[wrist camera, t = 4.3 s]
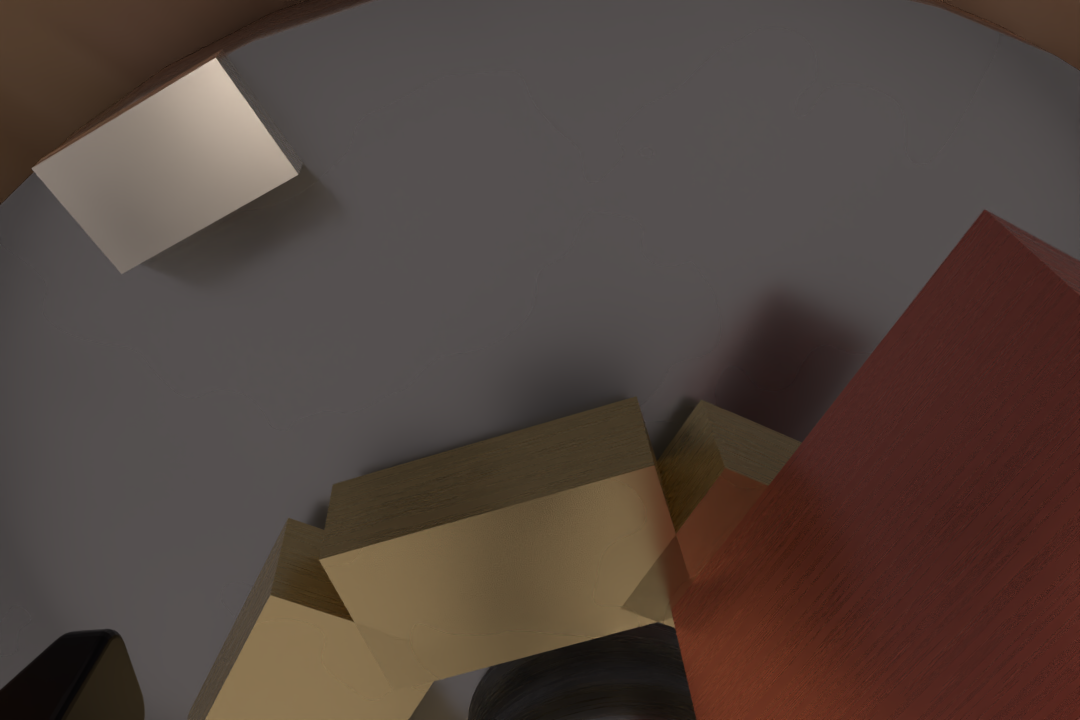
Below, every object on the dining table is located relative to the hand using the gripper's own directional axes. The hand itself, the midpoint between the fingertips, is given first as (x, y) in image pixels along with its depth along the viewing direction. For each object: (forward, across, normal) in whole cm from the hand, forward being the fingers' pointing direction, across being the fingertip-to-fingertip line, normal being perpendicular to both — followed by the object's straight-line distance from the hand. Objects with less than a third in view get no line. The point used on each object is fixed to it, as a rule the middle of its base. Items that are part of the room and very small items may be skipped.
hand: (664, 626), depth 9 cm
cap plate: (+4, 0, +5) cm, 6 cm away
